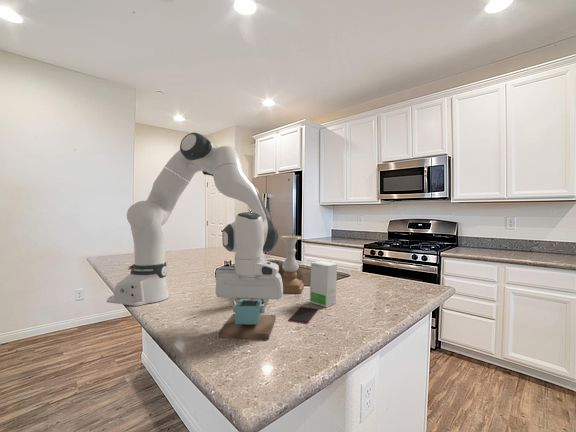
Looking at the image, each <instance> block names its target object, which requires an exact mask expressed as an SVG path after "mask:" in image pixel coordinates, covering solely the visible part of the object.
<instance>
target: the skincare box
mask: <svg viewBox="0 0 576 432" xmlns="http://www.w3.org/2000/svg"><path fill="white" fill-rule="evenodd" d="M337 275H338V263H334V262H330V261H324V260H316V261H313V262H310V282H309V283H310V284H309V287H310V288H309V303H311V304H314V305H318V306H320V307H325V308H328V307H330V306H333V305H335V304H336V300H337V283H338V282H337Z"/></svg>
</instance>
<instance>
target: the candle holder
mask: <svg viewBox="0 0 576 432" xmlns="http://www.w3.org/2000/svg"><path fill="white" fill-rule="evenodd" d="M278 239H280V240H283V241H284V243H285V244H286V245H285V246H286V248H285V249H284V252H285V254H286V258H285V259H284V261H283V263H282V266H281V267H282V270H284V272H283V276H284V278H282V283H283V294H284V293H285V294H298V295H299V294H302V292H303V291H304V288H305V287H304V286H305V283H304V282H303V279H302V280H301V279H298V278H297V276H298V273H297V270H299V268H300V266H299V262H298V261H297V259H296V257H295V254H296V252H297V249H296V246H295V245H296V243H297V241H298V240H302V239H303V236H301V235H280V236H278Z"/></svg>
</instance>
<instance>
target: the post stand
mask: <svg viewBox="0 0 576 432" xmlns="http://www.w3.org/2000/svg"><path fill="white" fill-rule="evenodd" d="M244 306H254V300H246V301H244ZM276 320H277V319H276V314H261V318H260V321H259V323H258V325H256V324H235V313H232V315H231V316H230V317H229V318H228V319H227V321H226V322H225V323H224V324H223V326H222V327H221V329H220V330H219V331H218V338H225V339H226V338H228V339H229V338H231V339H248V340H249V339H251V340H269V339H270V336H271V333H272V331H273V328H274V325H275V322H276Z"/></svg>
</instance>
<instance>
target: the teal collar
mask: <svg viewBox="0 0 576 432" xmlns="http://www.w3.org/2000/svg"><path fill="white" fill-rule="evenodd" d="M246 300H252V299H248V298H239V301H238V302H237V303H236V304H237V305H236V306H235V312H234V314H235V324H256V325H258V323H259V321H260V318H261V315H262V313H260V307H261V306H263V305H262V304H263V303H262V300H254V306H244V301H246Z"/></svg>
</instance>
